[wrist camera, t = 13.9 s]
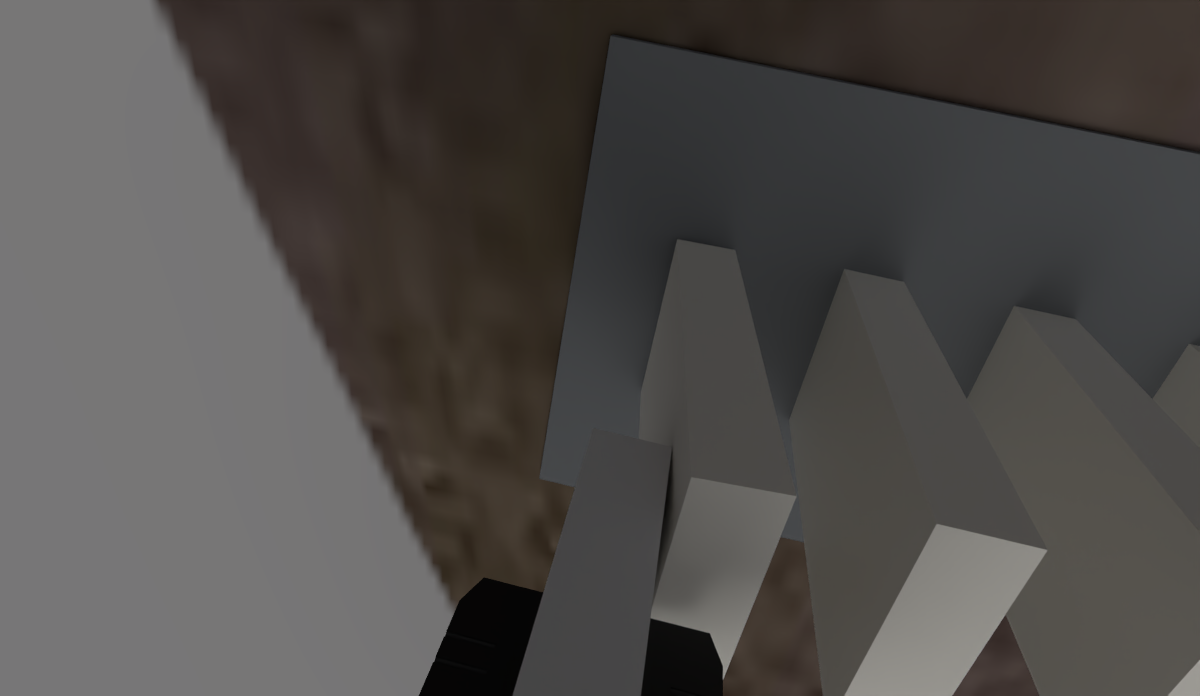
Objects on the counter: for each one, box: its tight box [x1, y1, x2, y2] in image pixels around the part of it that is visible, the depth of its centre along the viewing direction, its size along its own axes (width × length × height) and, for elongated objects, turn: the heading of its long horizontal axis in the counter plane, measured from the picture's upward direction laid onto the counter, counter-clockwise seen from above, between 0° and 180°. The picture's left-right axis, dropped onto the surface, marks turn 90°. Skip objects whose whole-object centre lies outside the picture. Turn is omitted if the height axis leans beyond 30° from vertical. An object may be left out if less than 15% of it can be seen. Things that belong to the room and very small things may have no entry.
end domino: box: [639, 239, 797, 679], centre depth 16 cm, size 5×2×10 cm, turn 170°
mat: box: [539, 35, 1200, 542], centre depth 20 cm, size 14×29×1 cm, turn 80°
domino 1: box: [789, 269, 1047, 696], centre depth 16 cm, size 5×2×10 cm, turn 170°
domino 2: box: [967, 306, 1200, 696], centre depth 16 cm, size 5×2×10 cm, turn 170°
